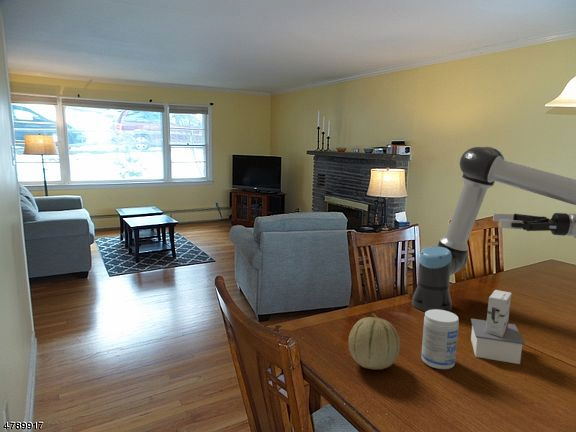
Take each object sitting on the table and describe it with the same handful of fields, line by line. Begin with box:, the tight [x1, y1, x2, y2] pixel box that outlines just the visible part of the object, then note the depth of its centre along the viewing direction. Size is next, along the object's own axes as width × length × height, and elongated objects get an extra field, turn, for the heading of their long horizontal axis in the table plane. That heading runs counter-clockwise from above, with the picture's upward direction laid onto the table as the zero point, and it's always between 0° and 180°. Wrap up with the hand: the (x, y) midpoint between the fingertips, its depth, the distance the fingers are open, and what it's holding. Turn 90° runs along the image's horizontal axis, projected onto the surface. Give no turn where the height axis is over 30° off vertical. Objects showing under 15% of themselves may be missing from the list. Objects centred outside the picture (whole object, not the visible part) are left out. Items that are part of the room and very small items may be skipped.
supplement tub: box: [420, 309, 460, 370], centre depth 115 cm, size 10×10×15 cm
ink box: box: [485, 289, 512, 337], centre depth 121 cm, size 9×5×12 cm, turn 141°
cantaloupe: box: [348, 313, 401, 370], centre depth 112 cm, size 15×15×15 cm
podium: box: [470, 318, 526, 365], centre depth 123 cm, size 13×13×7 cm
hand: (496, 220), depth 138 cm, fingers open, 13 cm apart
